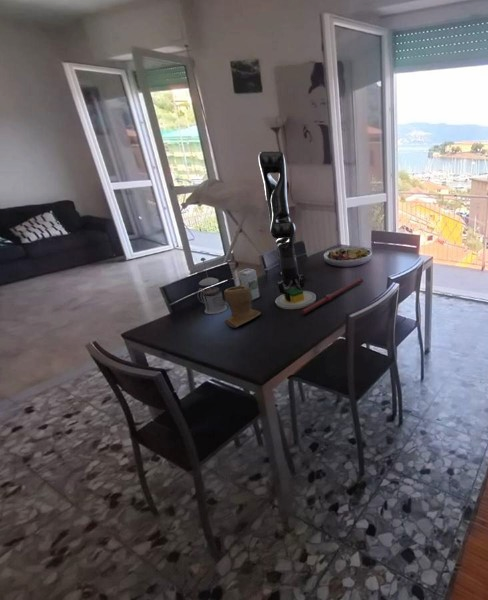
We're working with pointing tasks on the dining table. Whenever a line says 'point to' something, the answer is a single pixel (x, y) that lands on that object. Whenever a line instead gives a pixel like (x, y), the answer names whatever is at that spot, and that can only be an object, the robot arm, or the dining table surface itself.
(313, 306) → the rolling pin
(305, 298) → the plate
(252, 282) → the white canister
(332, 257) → the bowl
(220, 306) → the french press
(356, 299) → the dining table surface
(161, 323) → the dining table surface
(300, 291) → the sponge
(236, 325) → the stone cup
